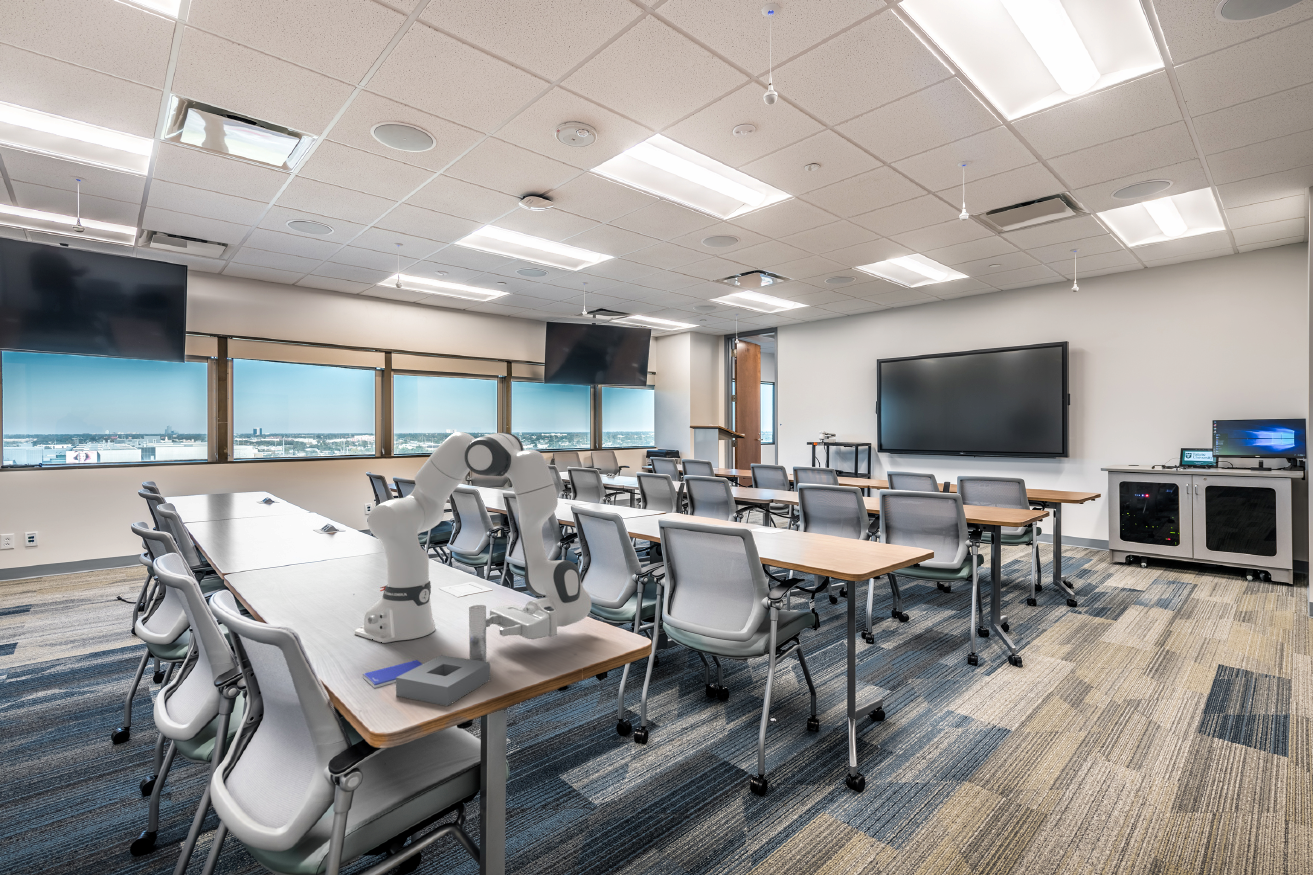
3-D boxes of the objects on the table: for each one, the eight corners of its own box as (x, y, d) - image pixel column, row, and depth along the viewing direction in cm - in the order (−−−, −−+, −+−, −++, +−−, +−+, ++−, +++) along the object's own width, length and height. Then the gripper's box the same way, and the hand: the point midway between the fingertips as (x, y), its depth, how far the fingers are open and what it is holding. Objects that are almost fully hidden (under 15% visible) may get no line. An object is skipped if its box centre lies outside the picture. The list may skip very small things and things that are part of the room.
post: (466, 665, 143) (465, 608, 143) (476, 659, 146) (476, 604, 146) (479, 667, 141) (478, 610, 141) (489, 661, 145) (489, 605, 145)
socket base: (396, 695, 126) (396, 677, 126) (442, 671, 139) (441, 654, 139) (447, 706, 121) (447, 686, 121) (490, 679, 134) (490, 662, 134)
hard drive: (374, 683, 130) (429, 668, 139) (362, 672, 136) (416, 658, 145) (374, 690, 130) (429, 674, 139) (362, 679, 136) (416, 665, 145)
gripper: (517, 596, 164) (471, 607, 154) (560, 612, 149) (512, 624, 139) (517, 619, 164) (471, 630, 154) (560, 636, 149) (512, 650, 139)
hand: (491, 628), depth 147 cm, fingers open, 8 cm apart
